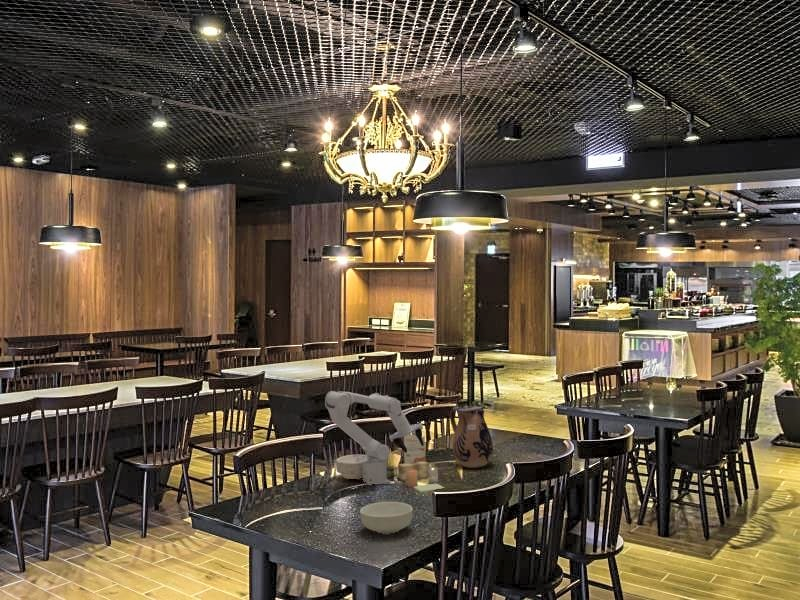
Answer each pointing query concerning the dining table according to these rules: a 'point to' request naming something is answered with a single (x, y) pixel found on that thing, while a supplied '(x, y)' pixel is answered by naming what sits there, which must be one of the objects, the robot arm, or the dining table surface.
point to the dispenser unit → (419, 466)
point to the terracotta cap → (412, 478)
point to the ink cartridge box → (414, 449)
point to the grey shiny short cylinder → (432, 475)
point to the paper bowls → (351, 466)
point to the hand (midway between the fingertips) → (414, 448)
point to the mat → (428, 487)
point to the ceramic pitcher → (471, 437)
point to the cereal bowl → (386, 516)
